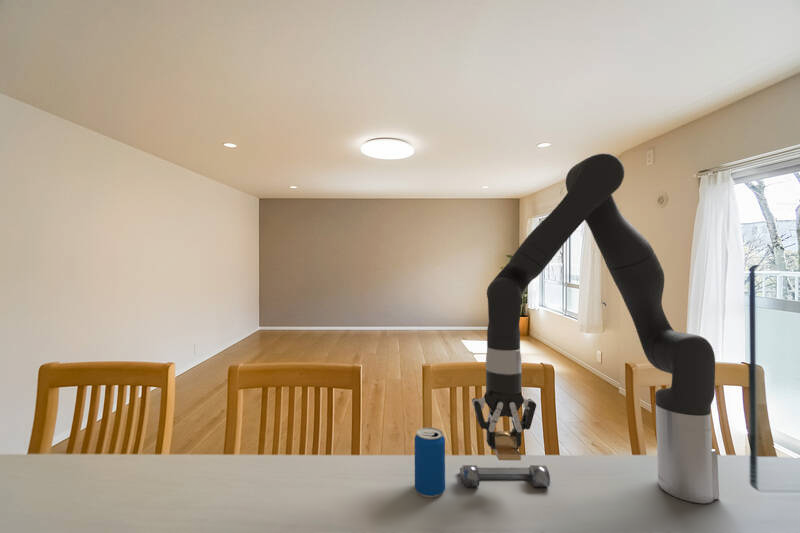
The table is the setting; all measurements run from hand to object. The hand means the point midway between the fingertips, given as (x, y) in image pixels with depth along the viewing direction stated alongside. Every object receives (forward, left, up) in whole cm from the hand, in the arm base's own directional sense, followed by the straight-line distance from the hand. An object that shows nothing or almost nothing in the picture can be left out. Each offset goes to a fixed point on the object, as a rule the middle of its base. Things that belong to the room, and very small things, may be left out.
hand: (503, 447), depth 77 cm
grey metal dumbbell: (0, -2, -8) cm, 8 cm away
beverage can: (+16, +2, -8) cm, 18 cm away
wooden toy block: (0, +1, -1) cm, 1 cm away
